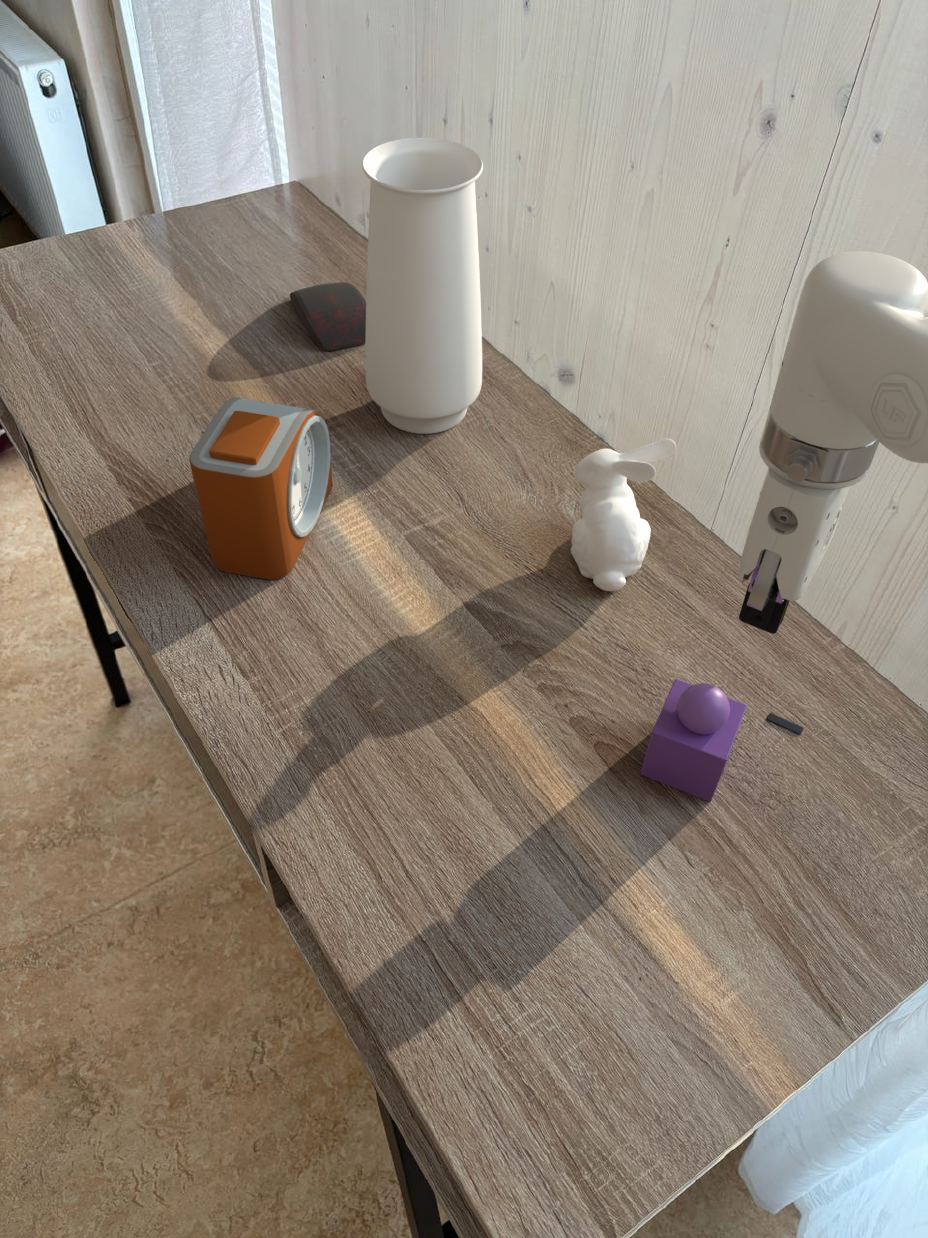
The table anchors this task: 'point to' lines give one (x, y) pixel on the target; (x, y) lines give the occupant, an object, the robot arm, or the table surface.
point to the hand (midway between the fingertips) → (760, 621)
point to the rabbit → (613, 513)
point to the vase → (423, 283)
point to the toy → (693, 738)
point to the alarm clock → (261, 484)
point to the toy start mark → (785, 723)
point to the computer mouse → (332, 314)
